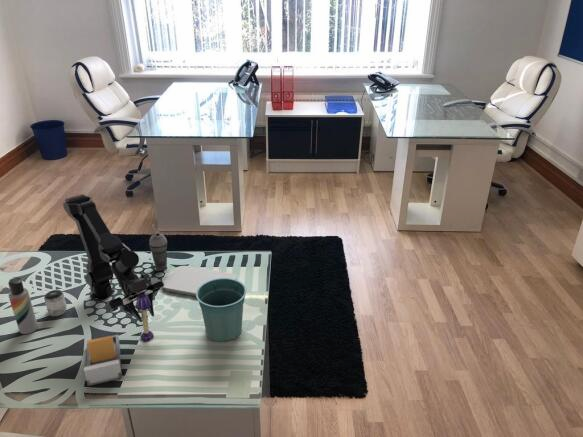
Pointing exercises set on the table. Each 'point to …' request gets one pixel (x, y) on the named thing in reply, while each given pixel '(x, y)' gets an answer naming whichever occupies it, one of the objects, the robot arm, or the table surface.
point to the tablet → (191, 279)
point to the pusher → (101, 349)
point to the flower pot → (222, 307)
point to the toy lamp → (144, 315)
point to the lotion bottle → (22, 306)
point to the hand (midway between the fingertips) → (147, 318)
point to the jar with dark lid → (55, 302)
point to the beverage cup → (159, 250)
